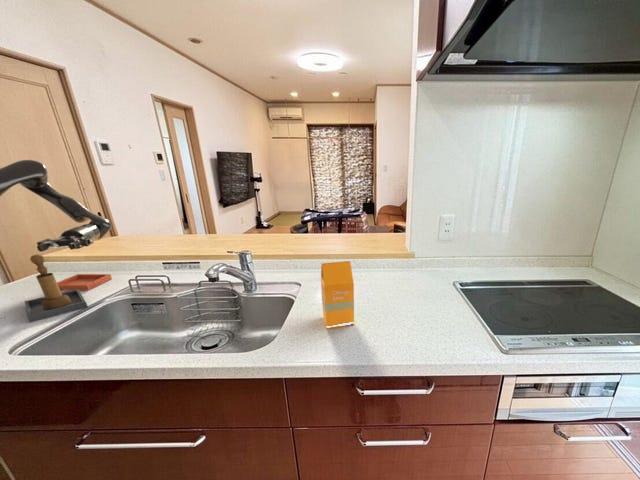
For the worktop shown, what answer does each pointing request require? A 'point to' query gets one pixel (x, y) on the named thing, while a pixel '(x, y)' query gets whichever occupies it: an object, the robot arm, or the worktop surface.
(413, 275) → the worktop surface
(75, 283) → the terracotta tray
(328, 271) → the orange juice
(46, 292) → the mortar and pestle
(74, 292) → the grey tray
